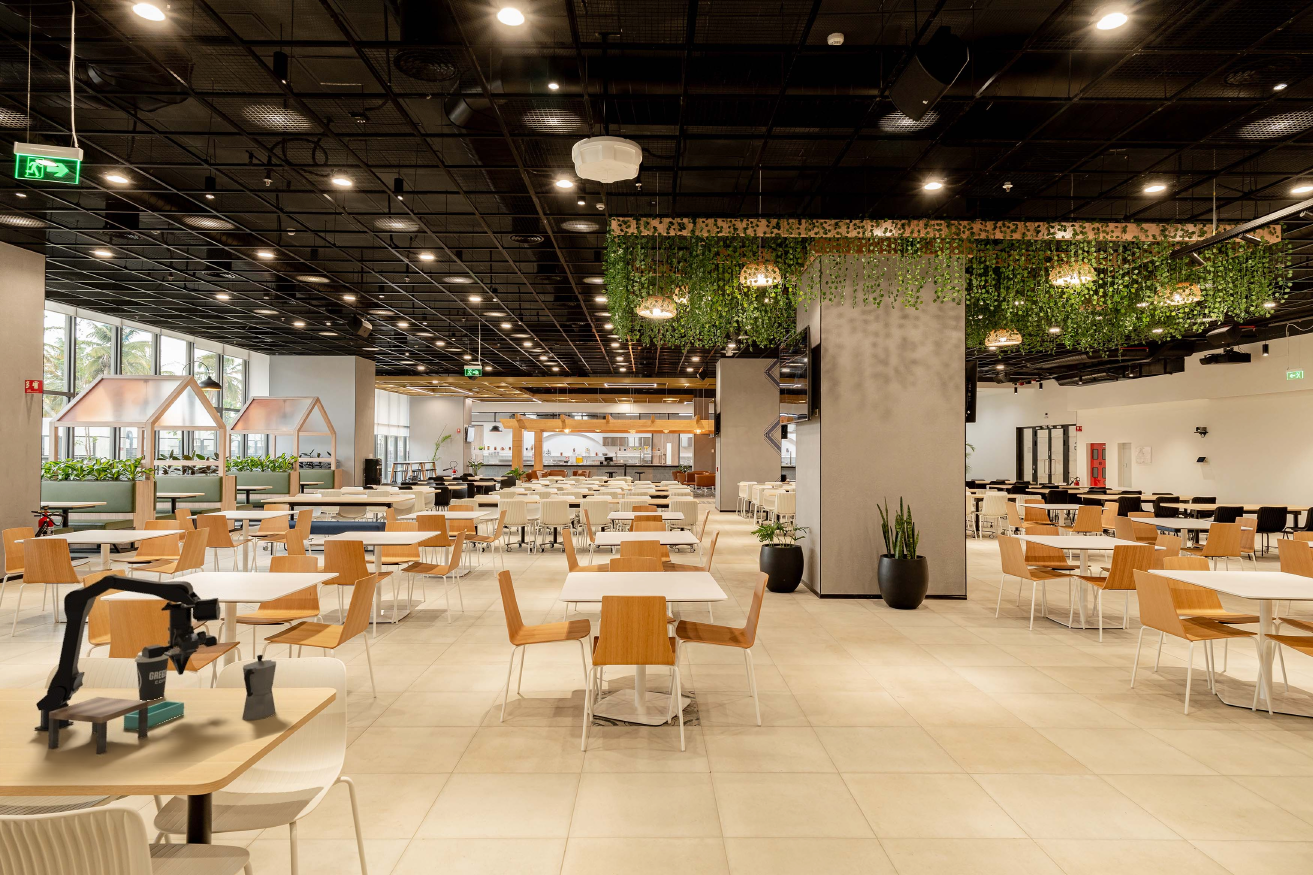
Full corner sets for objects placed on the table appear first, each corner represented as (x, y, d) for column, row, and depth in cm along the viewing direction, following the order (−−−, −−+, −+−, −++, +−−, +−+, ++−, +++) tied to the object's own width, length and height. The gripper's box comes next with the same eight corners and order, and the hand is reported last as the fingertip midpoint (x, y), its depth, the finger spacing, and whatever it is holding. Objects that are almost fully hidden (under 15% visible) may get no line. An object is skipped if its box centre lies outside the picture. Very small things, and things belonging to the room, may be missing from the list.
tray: (123, 729, 204) (124, 715, 204) (165, 713, 217) (165, 700, 217) (142, 731, 202) (142, 716, 202) (183, 715, 215) (183, 702, 215)
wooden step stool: (48, 748, 189) (49, 712, 190) (97, 730, 202) (98, 696, 202) (100, 754, 185) (101, 716, 185) (147, 735, 198) (148, 700, 198)
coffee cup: (139, 705, 224) (140, 657, 225) (129, 699, 230) (130, 652, 231) (174, 697, 232) (175, 650, 233) (163, 691, 238) (164, 646, 238)
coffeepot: (253, 708, 220) (253, 649, 221) (284, 707, 221) (285, 648, 222) (227, 726, 205) (228, 663, 205) (262, 724, 205) (262, 661, 206)
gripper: (156, 632, 206) (156, 686, 205) (225, 620, 221) (225, 670, 221) (141, 628, 212) (141, 680, 212) (209, 616, 228) (209, 665, 227)
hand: (180, 674), depth 218 cm, fingers closed
